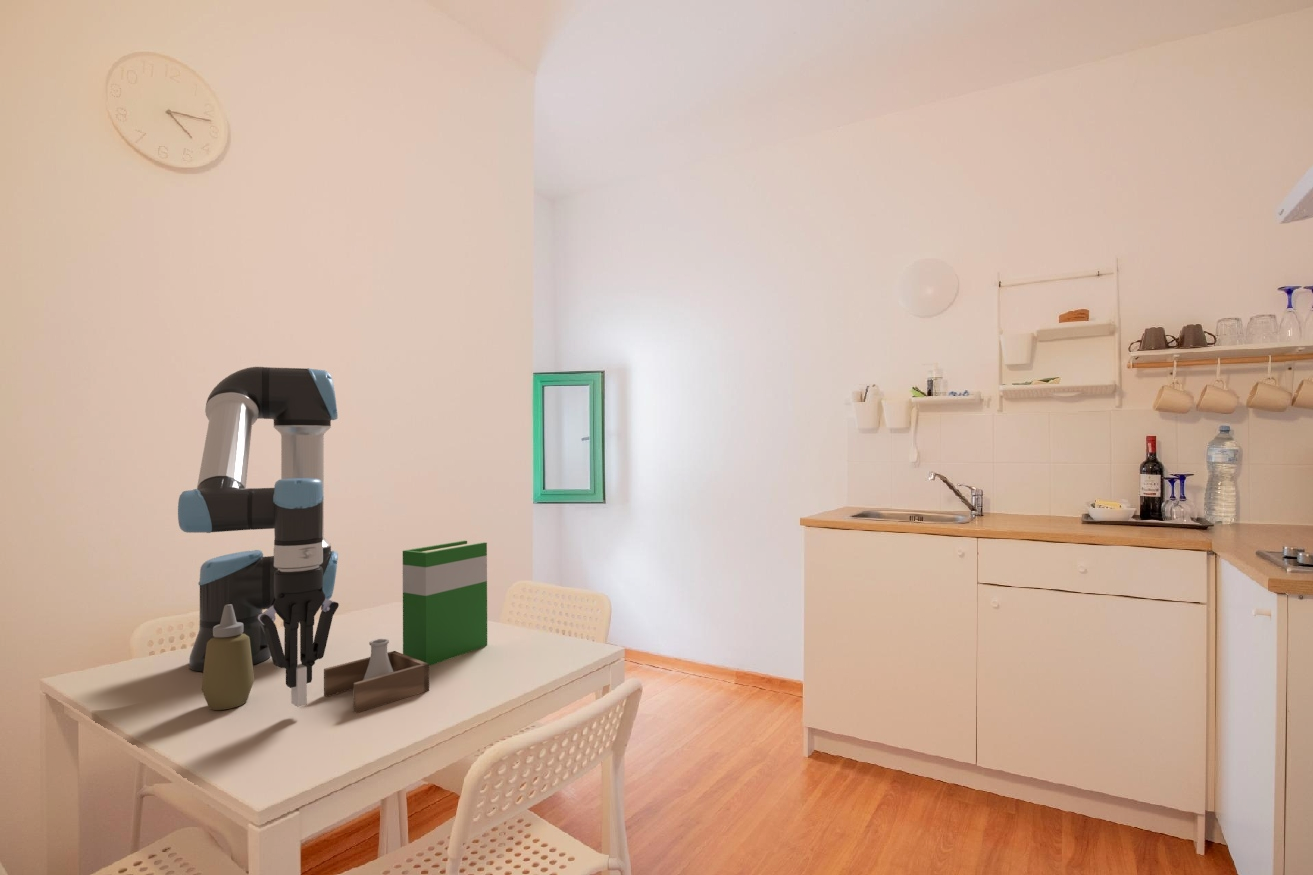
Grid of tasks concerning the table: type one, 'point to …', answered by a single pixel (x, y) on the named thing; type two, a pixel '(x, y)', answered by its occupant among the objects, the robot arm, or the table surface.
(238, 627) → the squeeze bottle
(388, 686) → the box
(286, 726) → the table surface
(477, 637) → the hardback book
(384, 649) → the flask
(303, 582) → the robot arm
